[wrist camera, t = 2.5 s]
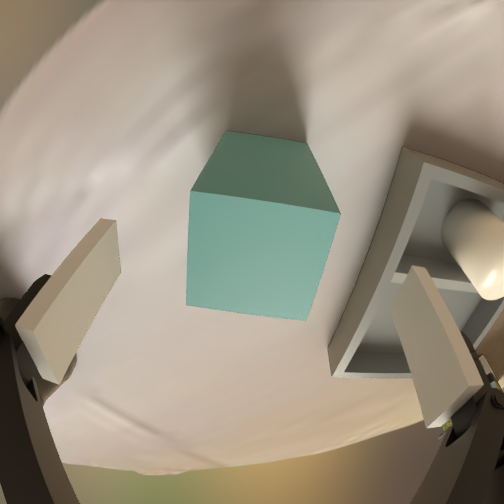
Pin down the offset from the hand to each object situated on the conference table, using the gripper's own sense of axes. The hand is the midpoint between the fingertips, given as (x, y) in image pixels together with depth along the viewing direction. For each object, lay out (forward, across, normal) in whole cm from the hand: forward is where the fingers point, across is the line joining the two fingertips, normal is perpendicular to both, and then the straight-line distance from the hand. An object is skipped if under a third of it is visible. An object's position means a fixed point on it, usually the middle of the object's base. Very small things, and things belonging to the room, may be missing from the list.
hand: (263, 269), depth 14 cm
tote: (+13, +18, -7) cm, 24 cm away
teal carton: (+12, 0, 0) cm, 13 cm away
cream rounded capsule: (+12, +18, -1) cm, 22 cm away
